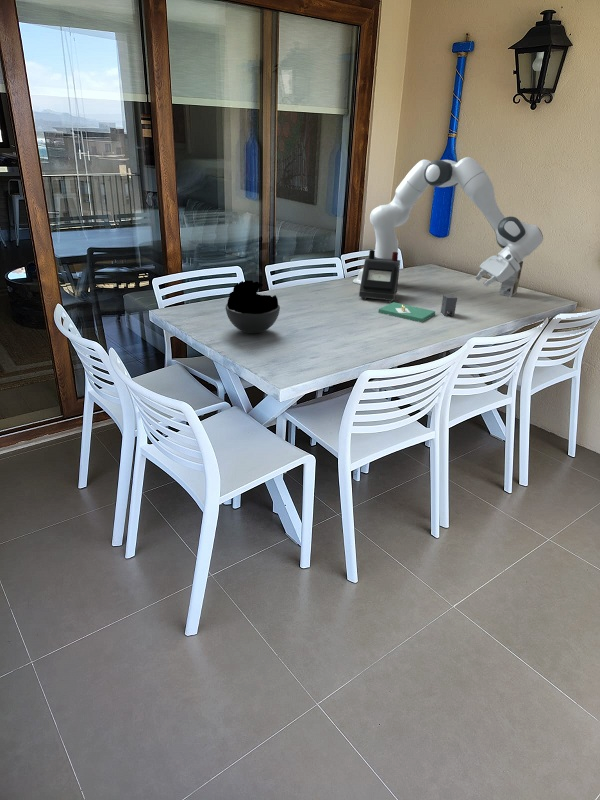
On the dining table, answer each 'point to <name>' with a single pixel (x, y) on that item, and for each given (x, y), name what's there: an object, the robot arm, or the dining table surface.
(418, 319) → the header board
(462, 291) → the dining table surface
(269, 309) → the coal bowl
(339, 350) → the dining table surface
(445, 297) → the block
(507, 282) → the coffee box
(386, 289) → the voltmeter
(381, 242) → the robot arm
